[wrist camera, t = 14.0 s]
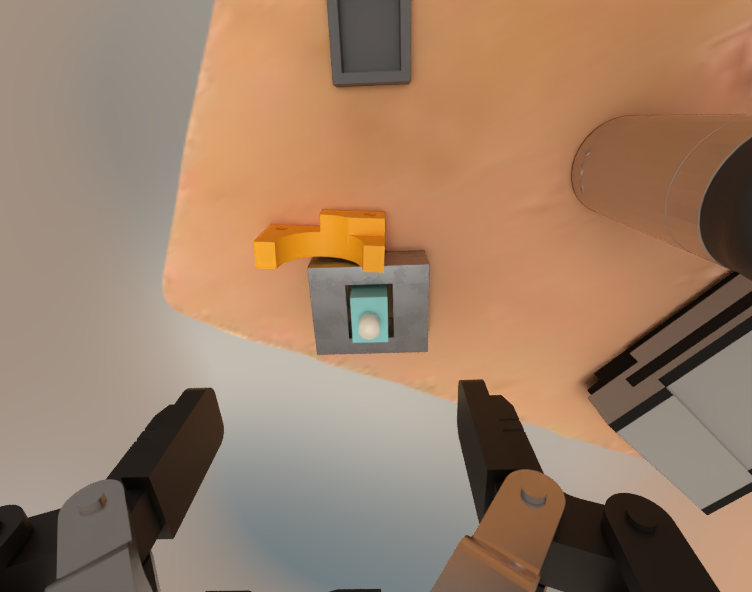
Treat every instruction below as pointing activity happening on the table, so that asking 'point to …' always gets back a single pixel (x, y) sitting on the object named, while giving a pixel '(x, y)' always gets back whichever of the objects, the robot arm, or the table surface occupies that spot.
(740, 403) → the game console
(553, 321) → the table surface
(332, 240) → the pipe clamp
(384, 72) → the grey rectangular frame
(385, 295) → the plug
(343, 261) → the switch housing
